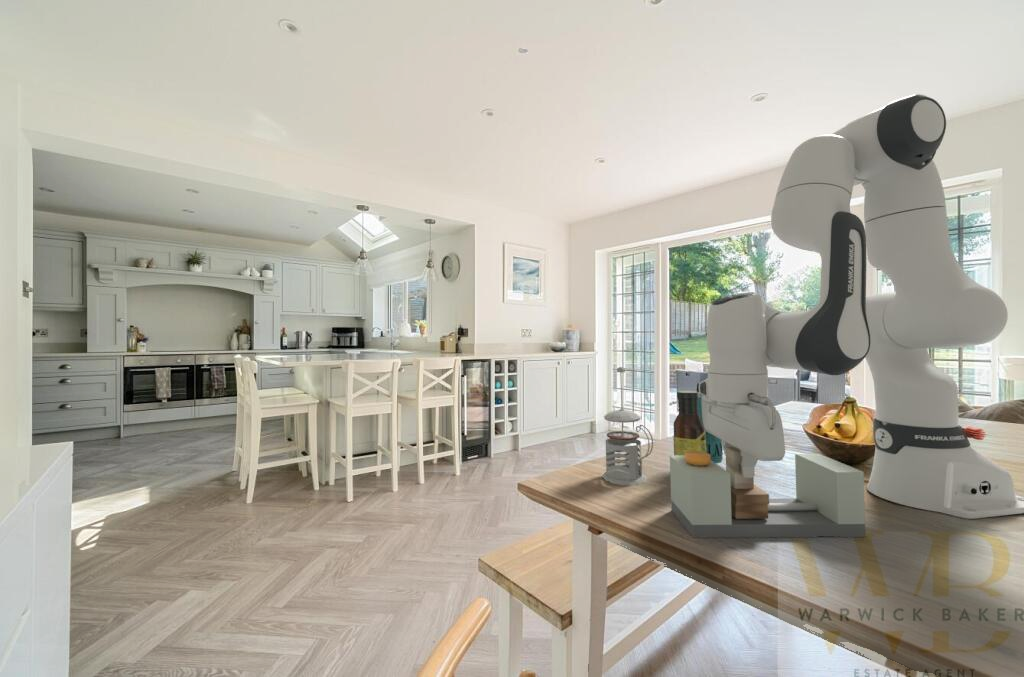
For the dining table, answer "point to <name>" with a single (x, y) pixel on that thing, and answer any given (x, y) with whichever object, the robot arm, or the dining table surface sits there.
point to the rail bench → (772, 501)
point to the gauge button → (697, 458)
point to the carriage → (744, 490)
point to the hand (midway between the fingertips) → (739, 471)
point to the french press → (624, 449)
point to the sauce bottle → (688, 425)
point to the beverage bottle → (711, 438)
